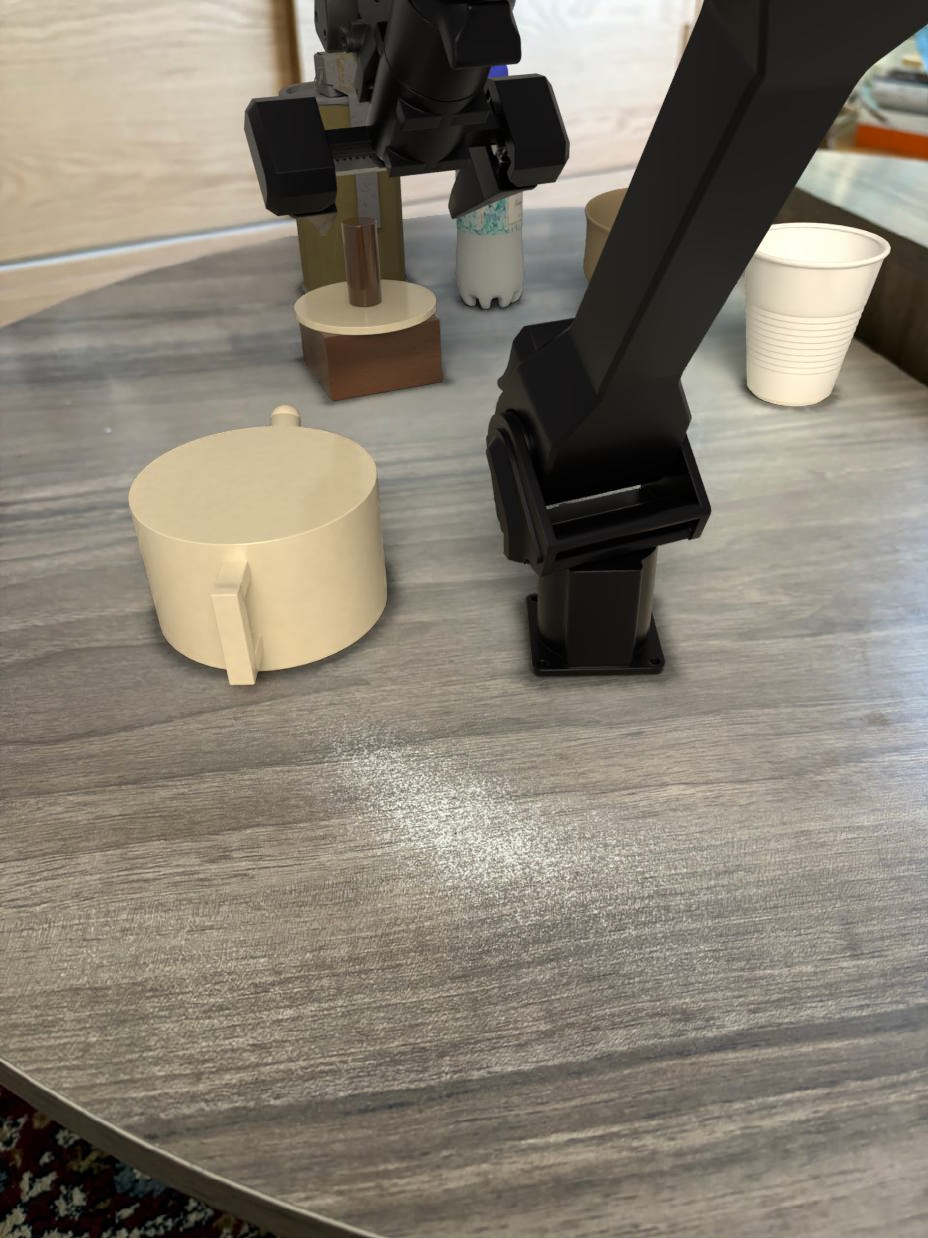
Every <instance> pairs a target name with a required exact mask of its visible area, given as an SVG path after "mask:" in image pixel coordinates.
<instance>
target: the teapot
mask: <svg viewBox="0 0 928 1238" xmlns="http://www.w3.org/2000/svg"><path fill="white" fill-rule="evenodd" d="M378 476H379V475H378V469H377V464H376V462H375V460H374V458H373V457H372V455H371V454H370V453H369V452H368V451H367V450H366V449H365V448H364V447H363V446H361V445H360V444H359V443H357V442H355V441H354V440H352V439H350V438H348V437H345V436H343V435H340V434H337V433H334V432H330V431H327V430H323V429H317V428H312V427H304V426H302V416H301V413H300V411H299V410H298V409H297V408H296V407H295V406H293V405H292V404H291V405H290V404H287V403H285V404H280V405H278V406H276V407H275V408H274V409H273V410H272V411H271V414H270V418H269V425H266V426H253V427H245V428H244V427H243V428H237V429H232V430H226V431H222V432H219V433H213V434H210V435H205V436H203V437H199V438H197V439H194V440H190V441H188V442H185V443H183V444H181V445H178V446H176V447H174V448H172V449H170V450H168V451H166V452H165V453H163V454H161V455H160V456H158V457H157V458H155V459H153V460H151V462H150V463H148V464H147V465H145V467H144V468H143V469H142V470H141V471H140V472H138V474H137V475H136V476H135V478H134V480H133V481H132V484H131V485H130V488H129V490H128V497H127V500H128V507H129V512H130V515H131V519H132V523H133V527H134V530H135V534H136V538H137V542H138V546H139V550H140V554H141V558H142V562H143V565H144V571H145V573H146V574H145V575H146V577H147V581H148V585H149V589H150V593H151V597H152V601H153V604H154V609H155V612H156V617H157V619H158V624H159V628H160V630H161V632H162V635H163V637H164V638H165V639H166V641H167V642H168V644H169V645H170V646H171V647H172V648H173V649H174V650H176V651H177V652H178V653H179V654H181V655H183V656H184V657H186V658H188V659H190V660H191V661H194V662H196V663H198V664H202V665H205V666H208V667H211V668H216V669H221V670H226V674H227V678H228V684H229V685H230V686H253V685H254V686H255V684H256V680H257V676H258V673H259V672H270V671H278V670H285V669H291V668H296V667H300V666H304V665H308V664H311V663H314V662H317V661H320V660H324V659H325V658H329V657H330V656H333V655H335V654H337V653H338V652H341V651H343V650H345V649H347V648H349V647H350V646H351V645H353V644H354V643H356V642H357V641H359V640H360V639H361V638H362V637H364V636H365V635H366V634H367V633H368V632H369V631H370V630H371V629H373V627H374V626H375V625H376V624H377V622H378V621H379V619H380V618H381V616H382V615H383V612H384V610H385V608H386V605H387V601H388V600H387V599H388V583H387V571H386V558H385V547H384V535H383V523H382V522H383V521H382V511H381V502H380V501H381V499H380V488H379V477H378Z"/></svg>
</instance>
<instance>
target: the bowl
mask: <svg viewBox="0 0 928 1238" xmlns="http://www.w3.org/2000/svg"><path fill="white" fill-rule="evenodd" d="M627 189H628V187H623V188H617V189H612V190H609V191H605V192H603V193H600V194H598V195H596V196H594V197H592V198H590V200H588V202H587V203H586V205H585V207H584V215H585V218H586V219H585V220H586V228H585V230H586V232H585V246H584V254H583V264H582V265H583V266H582V268H583V269H582V270H583V274H584V277H585V280H586V282H587V284H589V282H590V279H591V277H592V274H593V272H594V270H595V267H596V265H597V262H598V260H599V257H600V255H601V253H602V250H603V248H604V245H605V243H606V240H607V238H608V235H609V233H610V231H611V228H612V226H613V223H614V221H615V218H616V216H617V213H618V211H619V209H620V206H621V204H622V201H623V199H624V196H625V194H626V192H627Z"/></svg>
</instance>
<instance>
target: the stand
mask: <svg viewBox="0 0 928 1238" xmlns="http://www.w3.org/2000/svg"><path fill="white" fill-rule="evenodd" d="M298 325H299V332H300V340H301V349H302V356H303V361H304V362H305V364H306V365H307V367H308V368H309V370H310V371H311V373H312V374H313V375H314V377H315V379H316V380H317V382H318V383H319V385H320V386H321V387H322V389H323V390H324V392H325V393H326V395H327V397H328V398H329V400H330V401H332V402H334V401H340V400H346V399H351V398H352V399H353V398H359V397H362V396H368V395H374V394H381V393H385V392H391V391H396V390H397V391H398V390H402V389H409V388H413V387H414V388H415V387H419V386H426V385H430V384H437V383H442V382H443V363H442V362H443V361H442V338H441V336H442V335H441V318H439V317H438V316H437V315H435V313H434V314H433V315H432V316H431V317H430V318H429V319H427V320H426V321H424V322H422V323H420V324H417V325H415V326H412V327H409V328H406V329H402V330H398V331H393V332H387V333H380V334H370V335H341V334H332V333H326V332H321V331H317V330H314V329H311V328H308V327H306V326H304V325H303V324H301V323H300V322H299V321H298Z"/></svg>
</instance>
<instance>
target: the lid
mask: <svg viewBox="0 0 928 1238" xmlns="http://www.w3.org/2000/svg"><path fill="white" fill-rule="evenodd" d="M341 225H342V236H343V247H344V257H345V268H346V279H347V282H341V283H336V284H331V285H327V286H324V287H320V288H318V289H315V290H312V291H310V292H308V293H306V294H305V293H304V294H303V295H301V296H300V297H299V298H298V299H297V300H296V301H295V303H294V316H295V319H296V320H297V321H298V323H299V322H300V323H301V324H303V325H304V326H306V327H308V328H311V329H314V330H317V331H321V332H326V333H332V334H341V335H370V334H380V333H387V332H393V331H398V330H402V329H406V328H409V327H412V326H415V325H417V324H420V323H422V322H424V321H426V320H427V319H429V318H430V317H431V316H432V315H433V314H435V313H436V311H437V308H438V307H437V306H438V305H437V303H438V302H437V296H436V294H435V293H434V292H433V291H432V290H431V289H428V288H427V287H424V286H422V285H419V284H416V283H413V282H409V281H408V282H403V281H396V280H381V276H380V262H379V249H378V235H377V222H376V220H375V219H373V218H369V217H353V218H348V219H345V220H343V221H342V223H341Z"/></svg>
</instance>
